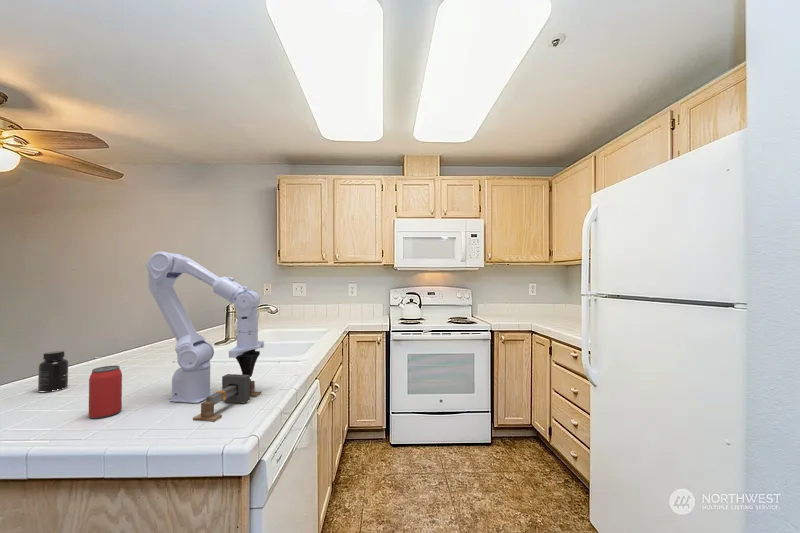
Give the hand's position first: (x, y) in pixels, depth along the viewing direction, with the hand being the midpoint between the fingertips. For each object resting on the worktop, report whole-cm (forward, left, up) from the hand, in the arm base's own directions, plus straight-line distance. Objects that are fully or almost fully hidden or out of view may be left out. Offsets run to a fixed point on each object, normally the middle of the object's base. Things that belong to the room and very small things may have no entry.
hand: (247, 376), depth 103 cm
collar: (0, -5, -6) cm, 8 cm away
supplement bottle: (-67, -3, -6) cm, 67 cm away
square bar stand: (0, -8, -6) cm, 10 cm away
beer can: (-29, -18, -6) cm, 35 cm away
